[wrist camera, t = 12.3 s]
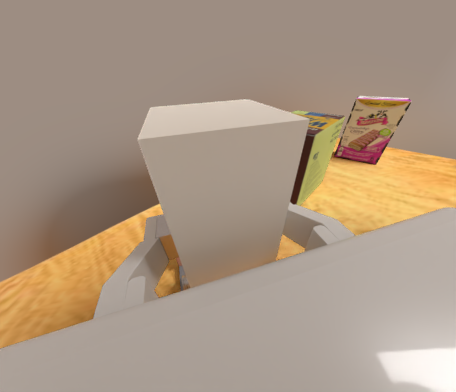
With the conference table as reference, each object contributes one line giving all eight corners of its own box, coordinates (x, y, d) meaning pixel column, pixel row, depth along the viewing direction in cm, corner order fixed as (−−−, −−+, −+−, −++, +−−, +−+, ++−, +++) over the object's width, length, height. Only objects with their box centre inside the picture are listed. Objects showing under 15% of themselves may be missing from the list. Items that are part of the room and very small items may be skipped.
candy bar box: (333, 157, 53) (355, 98, 43) (336, 151, 57) (356, 95, 47) (377, 165, 48) (413, 100, 38) (377, 159, 51) (410, 97, 41)
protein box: (322, 181, 42) (346, 115, 33) (294, 213, 34) (316, 134, 24) (284, 169, 48) (296, 109, 39) (252, 193, 40) (256, 124, 30)
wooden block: (242, 249, 15) (248, 99, 8) (265, 300, 12) (310, 118, 5) (193, 263, 14) (150, 107, 7) (203, 324, 11) (136, 139, 4)
